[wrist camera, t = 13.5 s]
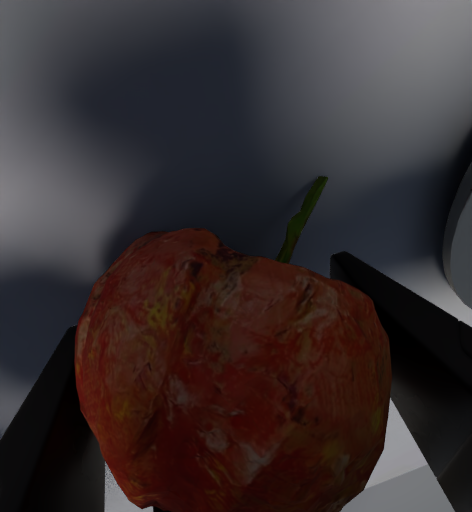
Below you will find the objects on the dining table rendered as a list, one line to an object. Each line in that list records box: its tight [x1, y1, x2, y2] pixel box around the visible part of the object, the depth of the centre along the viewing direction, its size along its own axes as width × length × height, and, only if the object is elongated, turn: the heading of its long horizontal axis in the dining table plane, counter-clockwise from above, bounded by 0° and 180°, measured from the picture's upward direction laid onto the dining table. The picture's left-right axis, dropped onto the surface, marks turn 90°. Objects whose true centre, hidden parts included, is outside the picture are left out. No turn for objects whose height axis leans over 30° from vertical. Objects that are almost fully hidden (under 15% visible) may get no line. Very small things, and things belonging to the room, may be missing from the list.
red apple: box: [74, 176, 392, 512], centre depth 9 cm, size 7×7×10 cm
